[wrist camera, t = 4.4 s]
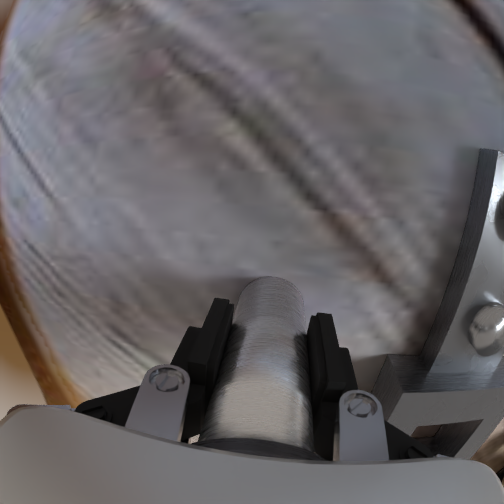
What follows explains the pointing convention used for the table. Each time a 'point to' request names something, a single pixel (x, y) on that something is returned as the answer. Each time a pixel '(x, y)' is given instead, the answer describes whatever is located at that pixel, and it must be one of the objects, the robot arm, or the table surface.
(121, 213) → the table surface
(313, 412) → the robot arm
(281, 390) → the steel pin
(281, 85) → the table surface
